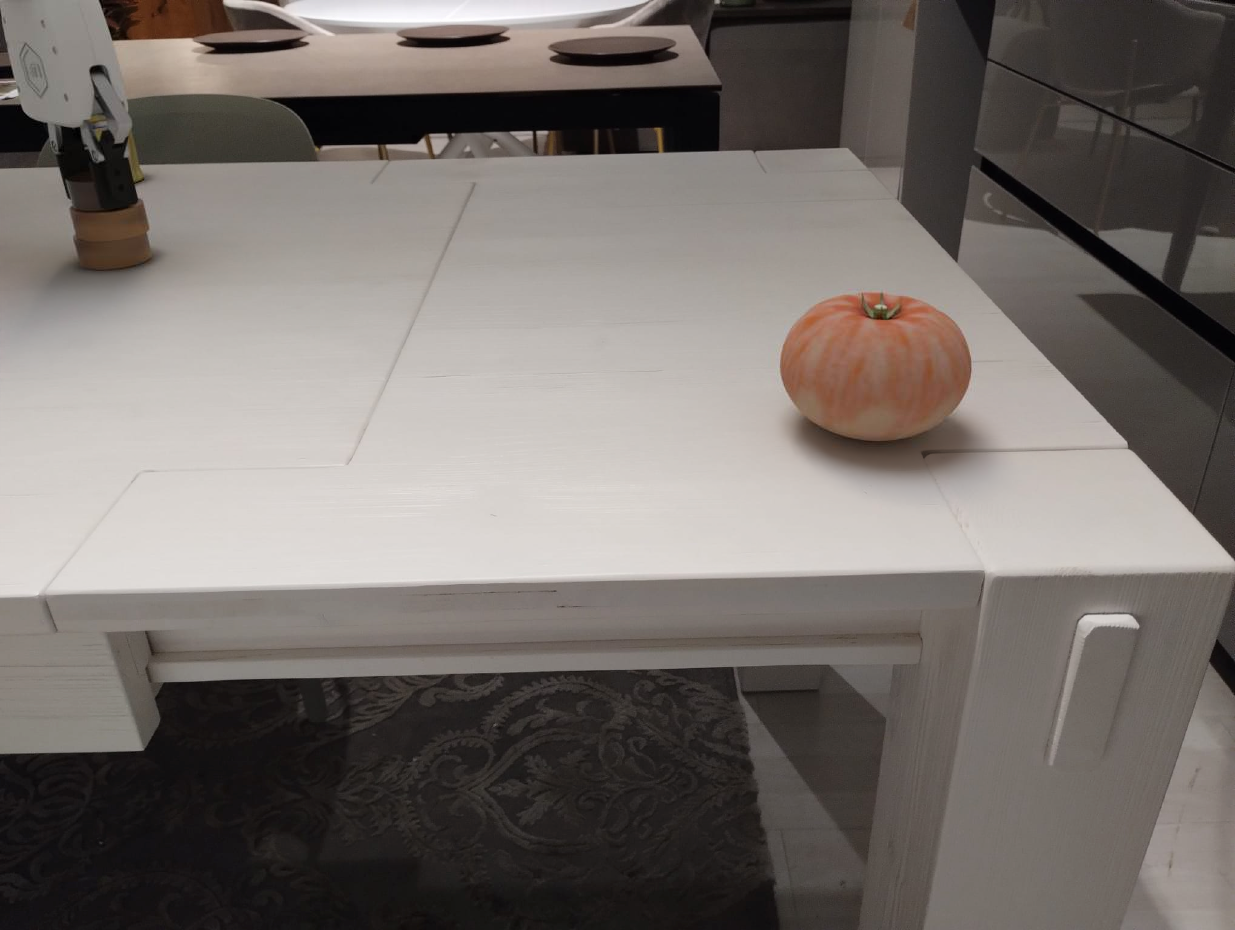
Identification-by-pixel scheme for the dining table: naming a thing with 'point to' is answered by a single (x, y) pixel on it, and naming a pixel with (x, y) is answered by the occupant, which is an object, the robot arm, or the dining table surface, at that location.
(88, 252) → the pile chip bottom
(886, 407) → the tomato
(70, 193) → the walnut chip
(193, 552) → the dining table surface
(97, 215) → the pile chip top
